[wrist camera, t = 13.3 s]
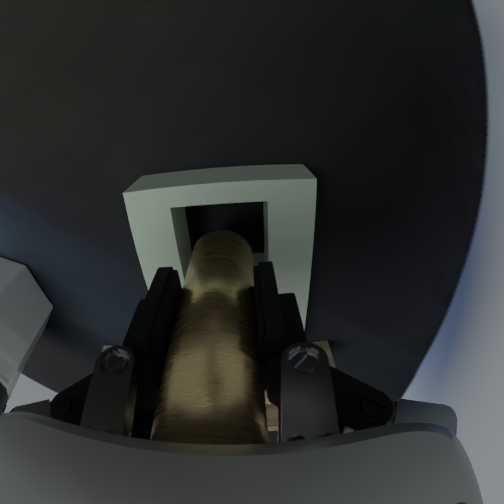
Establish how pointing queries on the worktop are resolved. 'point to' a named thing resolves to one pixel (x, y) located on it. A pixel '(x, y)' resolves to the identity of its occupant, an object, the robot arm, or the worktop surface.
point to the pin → (214, 352)
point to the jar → (18, 322)
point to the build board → (219, 192)
